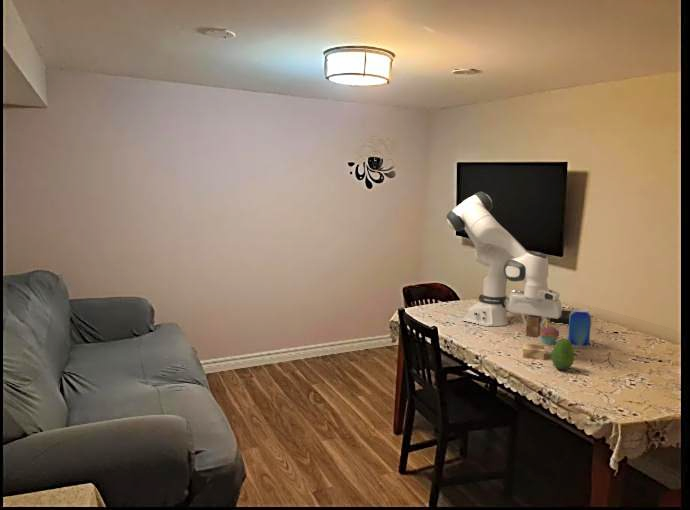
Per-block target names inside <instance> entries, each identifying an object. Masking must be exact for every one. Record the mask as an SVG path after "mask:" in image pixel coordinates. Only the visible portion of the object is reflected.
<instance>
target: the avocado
mask: <svg viewBox="0 0 690 510" xmlns="http://www.w3.org/2000/svg"><path fill="white" fill-rule="evenodd" d="M574 352H575V351H574V347H572V344H571V341H570V340H568V338H561V339H558V341H557V343H556V344H555V346H554V347H553V350H552V351H551V360H552V364H553V366H554V367H555V368H556V369H558V370H561V371H566V370H568V369H570V368H571V367H572V366H573V363H574V361H575V353H574Z"/></svg>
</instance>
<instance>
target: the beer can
mask: <svg viewBox="0 0 690 510" xmlns="http://www.w3.org/2000/svg"><path fill="white" fill-rule="evenodd" d="M570 311H571V313H570V315H569V325H568V334H567V335H568V336H567V337H568V338H567V339H568V340H570V341H571V344H572V347H573V349H574V348H576V349H587V348H588V347H589V346H590V340H591V339H590V337H591V323H592V317H591V316H592V315H591V313H590V311H589V309H588V308H587V309H586V308H582V307H581V308H580V307H576V308H575V307H574V308H572V310H570Z"/></svg>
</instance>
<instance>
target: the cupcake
mask: <svg viewBox="0 0 690 510" xmlns="http://www.w3.org/2000/svg"><path fill="white" fill-rule="evenodd" d="M559 336H560V332H559V330H558V329H557V328H556V327H554V326H549V323H548V318H547V319H546V321H545V326H544V327H543V328H542V327H541V330H540V337H541V341H542V343H543V344H544V345H554V344H555V342H556V340H557V338H558V337H559Z"/></svg>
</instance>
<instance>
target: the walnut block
mask: <svg viewBox="0 0 690 510" xmlns="http://www.w3.org/2000/svg"><path fill="white" fill-rule="evenodd" d="M526 319H527V325H525V326H526V328H525V329H526V330H525V336H526V337H529V338H535V339H538V338H539V337H541V335H540V330H541V328H542V327H539V323H540V322H542V317H541V316H533V315H526Z"/></svg>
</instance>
